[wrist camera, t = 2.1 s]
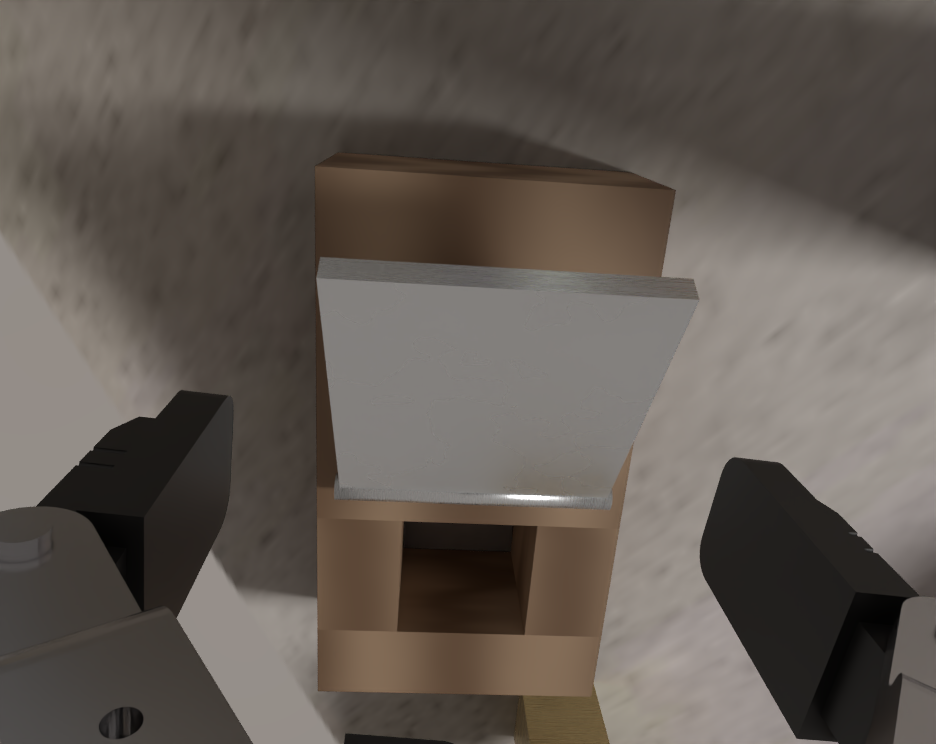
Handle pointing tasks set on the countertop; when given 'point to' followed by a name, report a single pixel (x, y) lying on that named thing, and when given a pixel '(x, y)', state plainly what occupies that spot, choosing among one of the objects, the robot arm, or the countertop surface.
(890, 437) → the countertop surface
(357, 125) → the countertop surface
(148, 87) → the countertop surface
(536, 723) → the brass pin
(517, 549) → the block
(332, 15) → the countertop surface
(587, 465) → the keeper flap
